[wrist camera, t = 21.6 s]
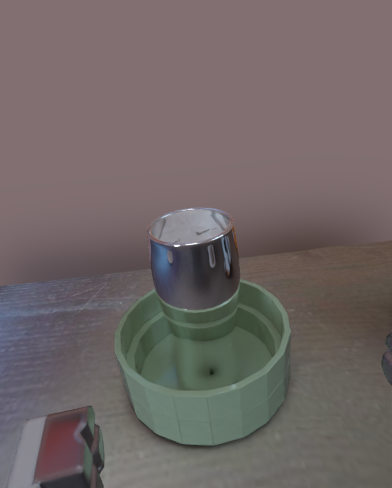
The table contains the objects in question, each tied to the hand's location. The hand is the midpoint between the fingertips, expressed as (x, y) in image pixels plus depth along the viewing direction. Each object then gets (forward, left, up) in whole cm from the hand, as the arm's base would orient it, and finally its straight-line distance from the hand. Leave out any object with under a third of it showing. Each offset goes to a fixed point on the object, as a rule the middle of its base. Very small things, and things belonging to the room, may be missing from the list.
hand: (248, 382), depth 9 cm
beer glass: (+1, +17, -18) cm, 25 cm away
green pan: (+1, +17, -18) cm, 25 cm away
